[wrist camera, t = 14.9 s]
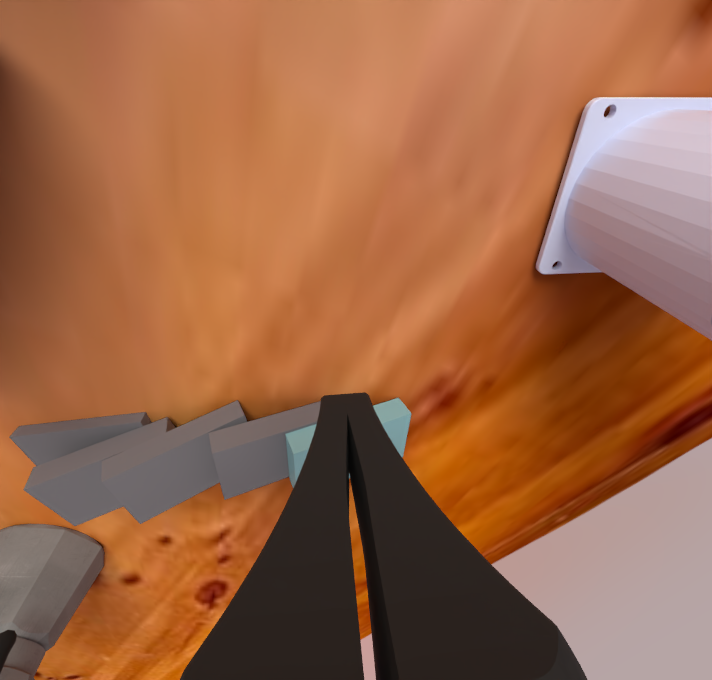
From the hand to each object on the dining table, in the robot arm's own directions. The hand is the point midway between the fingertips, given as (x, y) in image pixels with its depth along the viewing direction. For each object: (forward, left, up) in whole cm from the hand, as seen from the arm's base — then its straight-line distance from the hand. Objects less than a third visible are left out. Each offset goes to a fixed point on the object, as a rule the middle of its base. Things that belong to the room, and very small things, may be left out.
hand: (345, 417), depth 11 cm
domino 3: (+6, +10, -9) cm, 15 cm away
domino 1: (+12, +11, -10) cm, 19 cm away
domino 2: (+10, +11, -9) cm, 18 cm away
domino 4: (0, +11, -9) cm, 14 cm away
